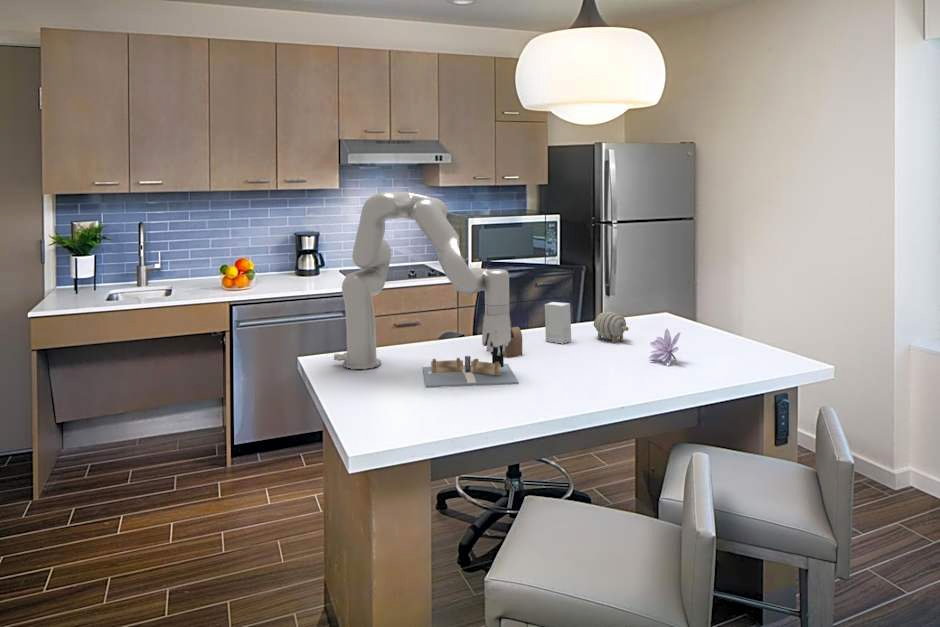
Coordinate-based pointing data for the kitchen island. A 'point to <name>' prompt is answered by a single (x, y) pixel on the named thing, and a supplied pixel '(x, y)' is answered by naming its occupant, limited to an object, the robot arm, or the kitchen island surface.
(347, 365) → the robot arm
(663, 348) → the water lily
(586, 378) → the kitchen island surface
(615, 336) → the toy sheep
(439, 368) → the fixed fence rail
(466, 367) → the fence post
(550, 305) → the skincare box
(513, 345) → the wooden toy
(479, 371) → the tan wooden bar
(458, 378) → the board
